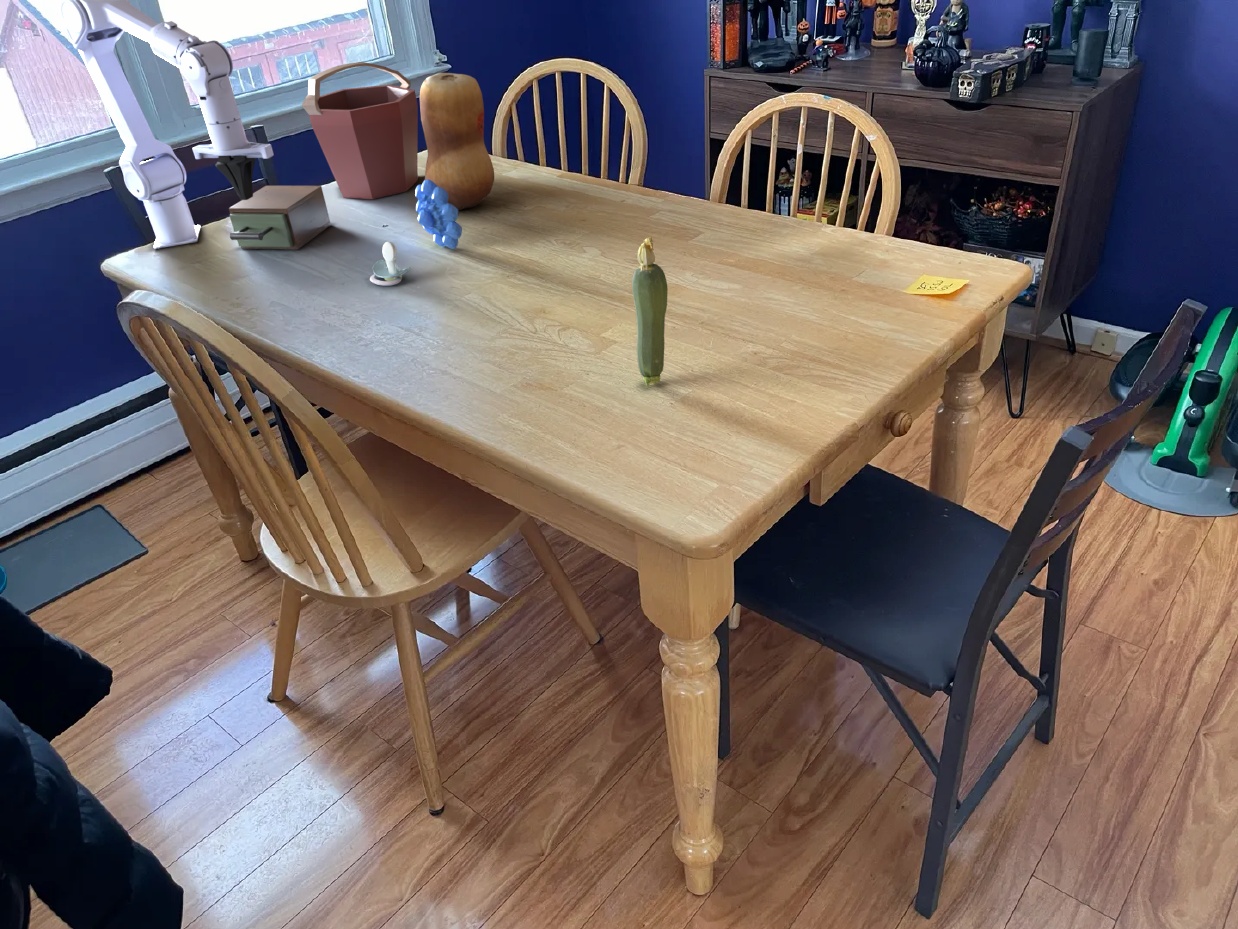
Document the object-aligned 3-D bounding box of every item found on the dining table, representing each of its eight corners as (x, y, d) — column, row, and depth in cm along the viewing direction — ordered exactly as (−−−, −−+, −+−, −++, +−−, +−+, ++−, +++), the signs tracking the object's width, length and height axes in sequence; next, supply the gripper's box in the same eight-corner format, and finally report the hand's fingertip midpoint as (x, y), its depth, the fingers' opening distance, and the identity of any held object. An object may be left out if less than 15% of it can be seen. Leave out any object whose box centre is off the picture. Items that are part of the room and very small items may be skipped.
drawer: (276, 257, 167) (267, 225, 164) (224, 256, 170) (213, 224, 166) (321, 224, 181) (313, 193, 177) (272, 223, 183) (263, 193, 180)
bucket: (335, 211, 189) (303, 83, 175) (308, 186, 206) (276, 66, 192) (446, 185, 199) (425, 61, 185) (412, 163, 215) (389, 47, 201)
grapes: (406, 247, 169) (392, 181, 163) (436, 235, 173) (424, 171, 166) (443, 261, 162) (430, 193, 155) (474, 249, 166) (462, 182, 159)
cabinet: (297, 249, 172) (286, 208, 168) (241, 248, 175) (228, 208, 171) (331, 224, 183) (321, 185, 179) (277, 224, 186) (266, 185, 181)
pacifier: (390, 291, 153) (417, 277, 157) (381, 255, 149) (409, 242, 153) (362, 282, 157) (389, 269, 161) (353, 247, 153) (381, 235, 157)
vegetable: (636, 375, 123) (626, 229, 112) (669, 371, 123) (662, 225, 112) (640, 391, 119) (630, 242, 108) (673, 387, 119) (667, 238, 108)
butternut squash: (494, 216, 180) (473, 80, 166) (426, 220, 181) (400, 86, 167) (502, 193, 192) (483, 64, 177) (438, 197, 192) (415, 69, 178)
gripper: (272, 113, 160) (294, 190, 168) (200, 114, 164) (224, 190, 171) (250, 124, 155) (273, 203, 162) (176, 125, 158) (202, 203, 166)
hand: (246, 198), depth 166 cm, fingers closed
